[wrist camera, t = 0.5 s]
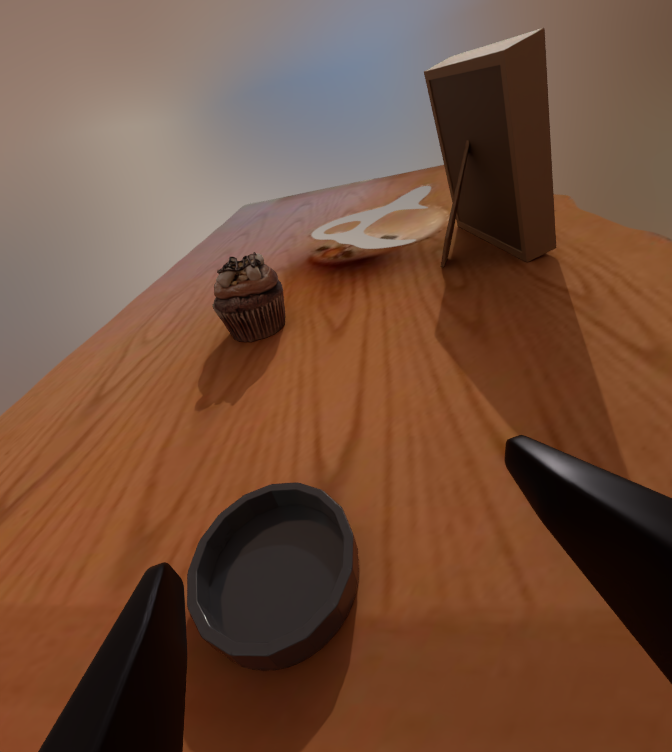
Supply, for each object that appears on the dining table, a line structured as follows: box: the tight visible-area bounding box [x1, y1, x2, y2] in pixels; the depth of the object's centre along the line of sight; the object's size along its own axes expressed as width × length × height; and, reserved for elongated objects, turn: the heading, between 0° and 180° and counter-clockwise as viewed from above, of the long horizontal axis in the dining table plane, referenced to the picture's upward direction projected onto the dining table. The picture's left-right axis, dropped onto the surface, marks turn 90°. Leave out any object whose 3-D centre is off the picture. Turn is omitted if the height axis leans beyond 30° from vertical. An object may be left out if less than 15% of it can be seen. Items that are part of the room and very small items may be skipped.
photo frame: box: [424, 28, 556, 267], centre depth 53 cm, size 15×22×25 cm
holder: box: [187, 483, 359, 671], centre depth 23 cm, size 10×10×2 cm
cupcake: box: [213, 252, 285, 342], centre depth 49 cm, size 10×10×10 cm
